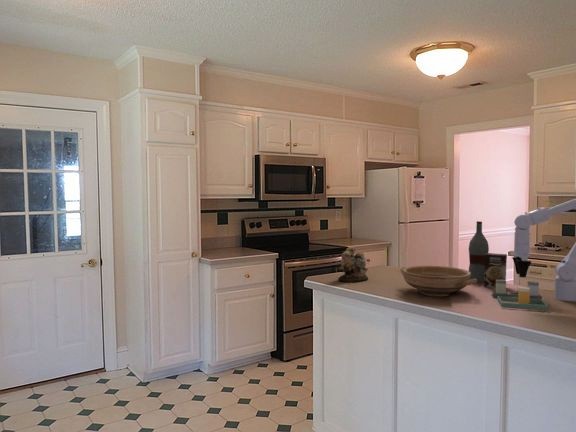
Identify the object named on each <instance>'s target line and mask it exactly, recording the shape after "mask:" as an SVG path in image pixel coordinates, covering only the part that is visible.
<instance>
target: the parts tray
mask: <svg viewBox="0 0 576 432" xmlns="http://www.w3.org/2000/svg"><path fill="white" fill-rule="evenodd" d="M496 300H497V301H498V303H499V306H500V307H501V308H500V310H504V308H507V310H508V311H509V310H511V311H518V309H523V310H524V311H525V312H533V310H536V312H538V313H539V312H541V313H547V311H545V310H549V304H547V303H546V301H544V300H543V298H542V299H534V298H530V301H529V304H520V303H518V297H502V296H497V299H496ZM530 303H531V304H530ZM533 303H534V304H533ZM515 308H517V309H515ZM530 309H533V310H530Z"/></svg>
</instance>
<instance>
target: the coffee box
mask: <svg viewBox="0 0 576 432" xmlns="http://www.w3.org/2000/svg"><path fill="white" fill-rule="evenodd" d="M507 262H508V254H506V253H505V254H504V253H493V252H492V253H491V252H488V253H486V254H485V271H484V284H483V287H484V288H493V289H496V280H506V281H507Z"/></svg>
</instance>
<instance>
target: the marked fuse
mask: <svg viewBox="0 0 576 432" xmlns="http://www.w3.org/2000/svg"><path fill="white" fill-rule="evenodd" d="M517 288H518V289H517V291H518V292H517V293H518V302H517V303H520V304H530V302H529V301H530V288H528V286H527V287H526V286H525V287H523V286H518V287H517Z"/></svg>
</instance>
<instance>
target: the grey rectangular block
mask: <svg viewBox="0 0 576 432" xmlns="http://www.w3.org/2000/svg"><path fill="white" fill-rule="evenodd" d="M539 285H540V282H538V281H532V280H531V281H530V280H529V281H528V280H527V287H528V288H530V295H532V296H538V294H539V289H540V287H539Z"/></svg>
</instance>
